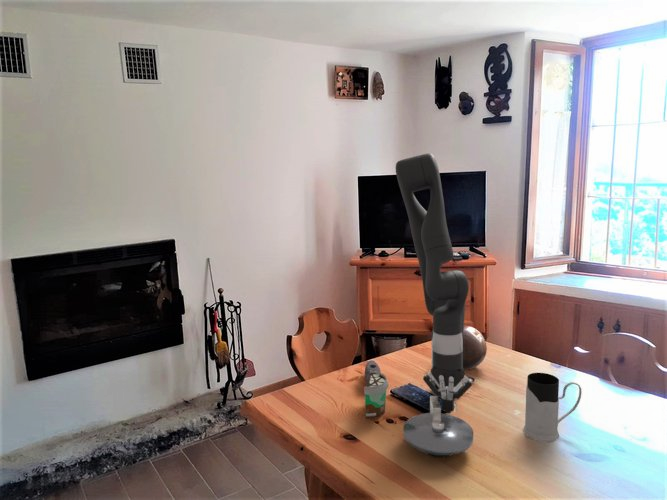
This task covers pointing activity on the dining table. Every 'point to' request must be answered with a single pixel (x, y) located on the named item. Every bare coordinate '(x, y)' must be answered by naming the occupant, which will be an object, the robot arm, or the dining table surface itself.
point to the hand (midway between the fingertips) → (448, 411)
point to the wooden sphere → (473, 347)
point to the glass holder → (544, 406)
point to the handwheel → (438, 432)
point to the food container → (375, 395)
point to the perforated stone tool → (371, 369)
